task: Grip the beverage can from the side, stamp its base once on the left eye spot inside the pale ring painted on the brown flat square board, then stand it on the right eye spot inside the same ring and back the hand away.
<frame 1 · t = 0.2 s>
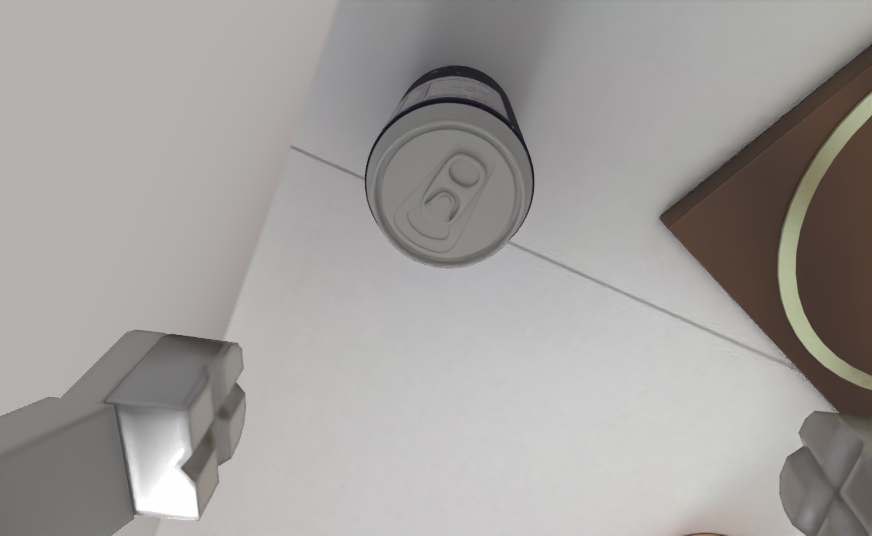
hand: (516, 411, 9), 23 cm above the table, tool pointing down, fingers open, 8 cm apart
beverage can: (455, 122, 30), on the table
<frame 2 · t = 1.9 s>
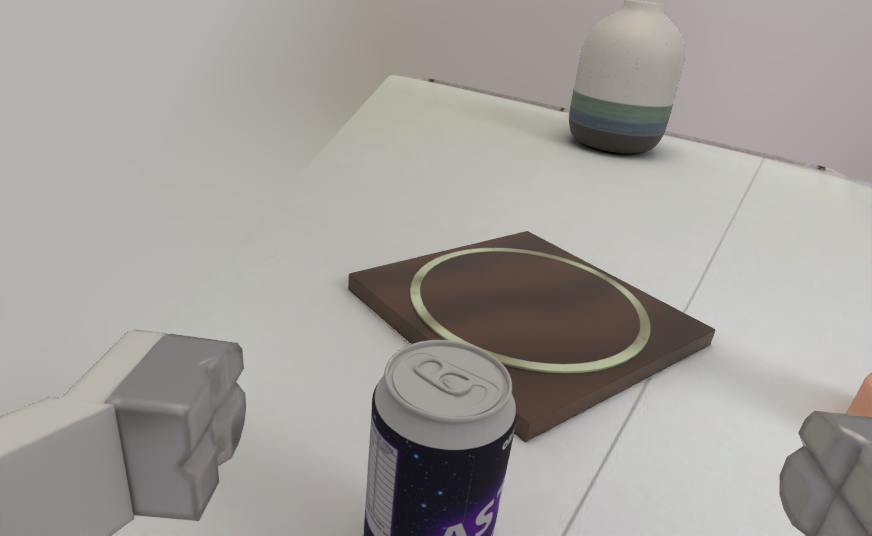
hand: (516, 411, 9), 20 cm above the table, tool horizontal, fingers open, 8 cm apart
vase: (610, 147, 108), on the table
brown flat square board: (525, 315, 51), on the table
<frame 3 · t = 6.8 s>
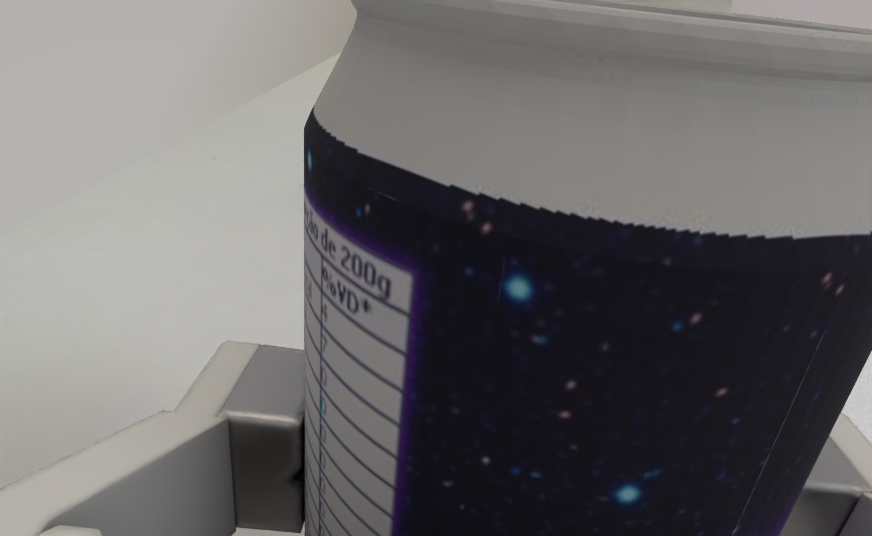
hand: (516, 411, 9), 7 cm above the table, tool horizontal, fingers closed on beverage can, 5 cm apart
vase: (647, 86, 91), on the table
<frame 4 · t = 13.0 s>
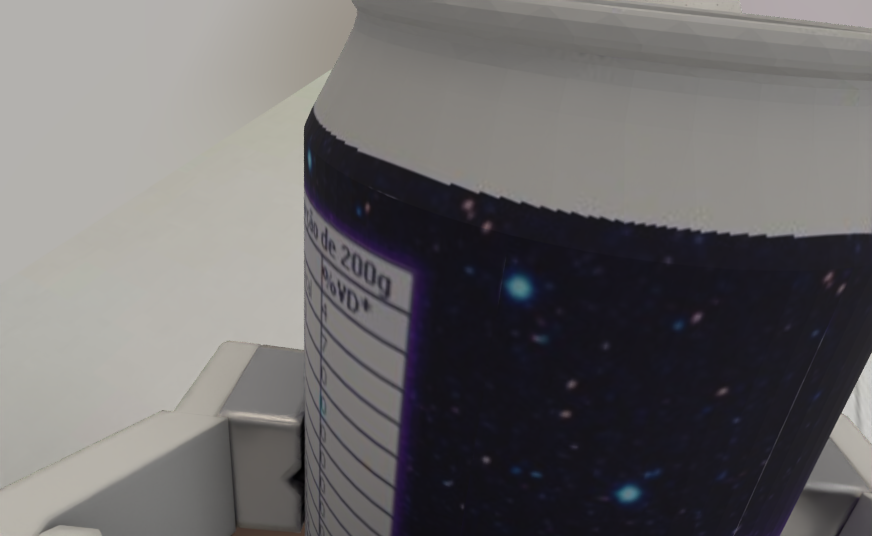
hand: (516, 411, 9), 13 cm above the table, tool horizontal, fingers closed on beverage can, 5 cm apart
vase: (627, 161, 75), on the table
when the fingers open (8 cm above the table, at t = 19.2 s): beverage can stays where it is, resting on brown flat square board.
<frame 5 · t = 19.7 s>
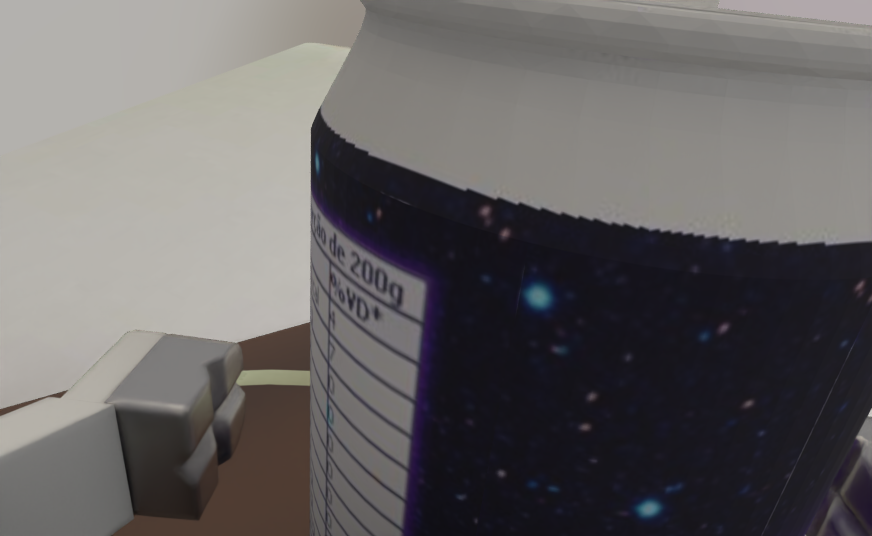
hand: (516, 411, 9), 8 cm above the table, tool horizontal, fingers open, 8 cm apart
vase: (603, 128, 69), on the table
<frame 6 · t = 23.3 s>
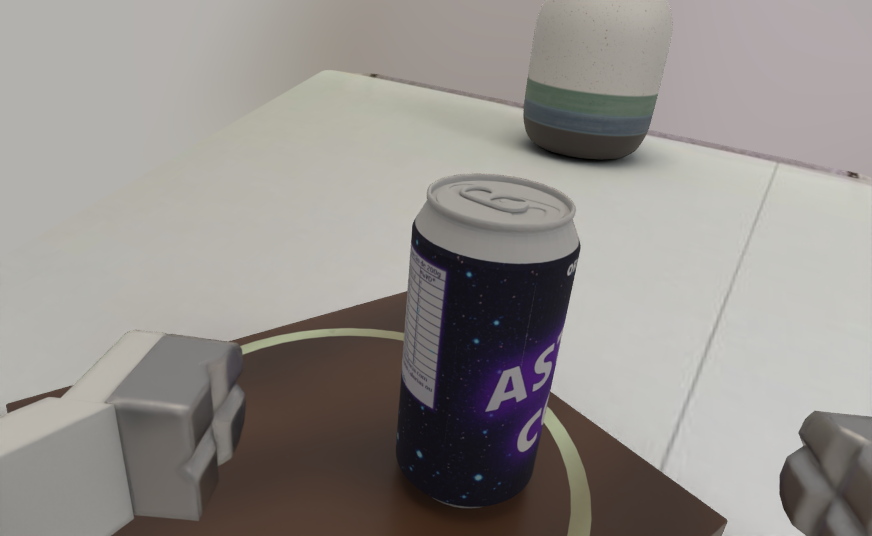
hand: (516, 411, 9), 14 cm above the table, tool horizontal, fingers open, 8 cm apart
vase: (578, 152, 83), on the table
brown flat square board: (349, 485, 26), on the table
beverage can: (461, 472, 25), point 2 cm above the table, touching brown flat square board
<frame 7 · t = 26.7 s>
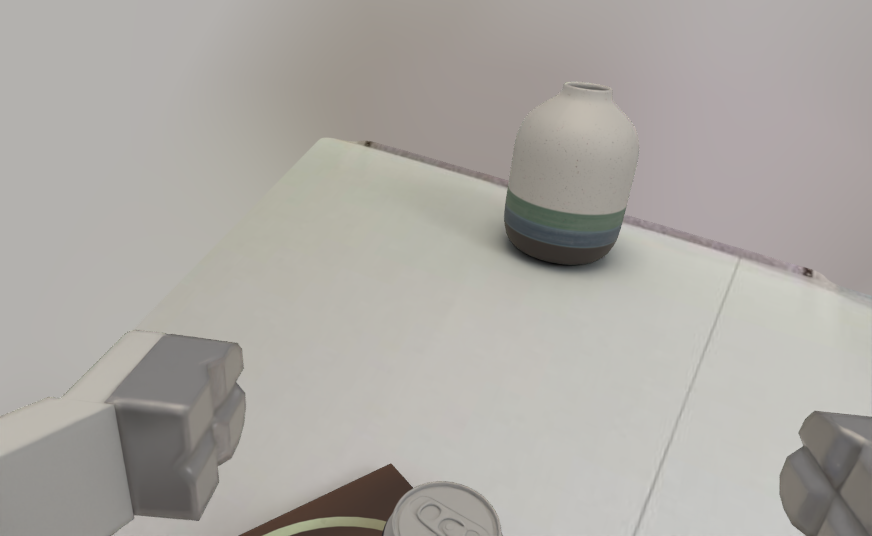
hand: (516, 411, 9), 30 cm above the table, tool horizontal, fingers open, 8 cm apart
vase: (555, 251, 90), on the table
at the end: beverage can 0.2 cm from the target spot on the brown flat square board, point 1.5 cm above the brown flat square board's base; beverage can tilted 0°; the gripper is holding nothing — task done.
